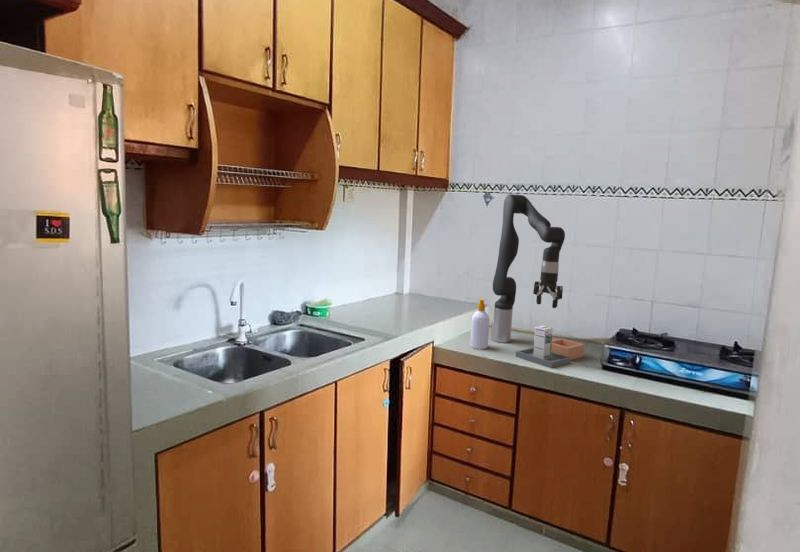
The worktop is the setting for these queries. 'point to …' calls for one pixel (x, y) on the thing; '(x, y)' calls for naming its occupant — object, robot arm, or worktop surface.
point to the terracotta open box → (567, 348)
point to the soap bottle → (480, 328)
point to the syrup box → (542, 342)
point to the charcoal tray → (551, 362)
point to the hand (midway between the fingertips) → (546, 306)
